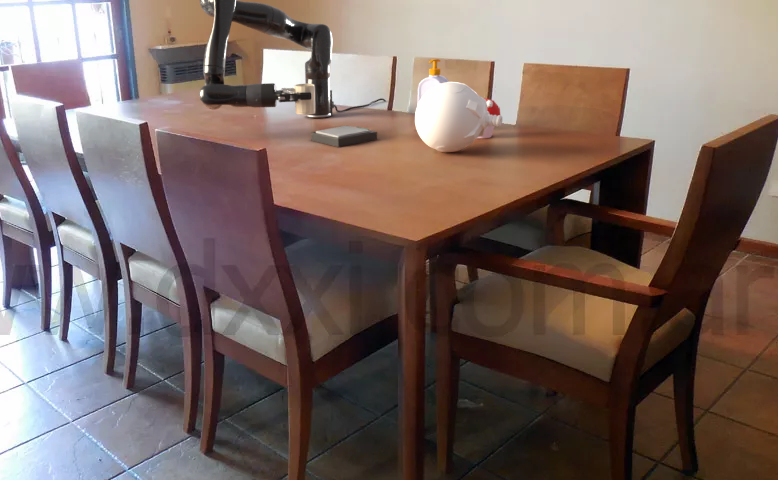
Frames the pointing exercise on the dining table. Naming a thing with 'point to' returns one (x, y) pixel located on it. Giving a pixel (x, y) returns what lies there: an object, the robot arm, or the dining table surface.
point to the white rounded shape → (452, 117)
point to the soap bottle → (430, 80)
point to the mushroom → (492, 110)
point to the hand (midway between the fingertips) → (311, 94)
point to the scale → (343, 136)
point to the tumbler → (305, 105)
